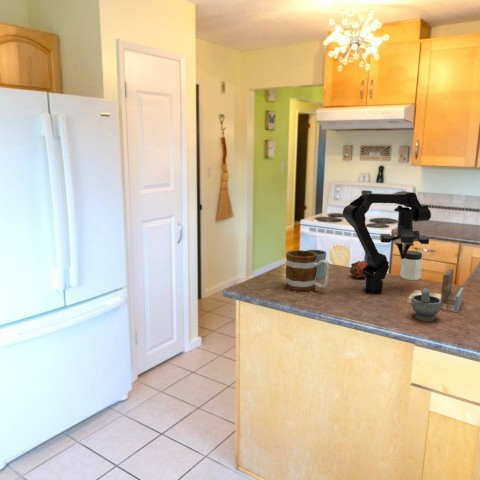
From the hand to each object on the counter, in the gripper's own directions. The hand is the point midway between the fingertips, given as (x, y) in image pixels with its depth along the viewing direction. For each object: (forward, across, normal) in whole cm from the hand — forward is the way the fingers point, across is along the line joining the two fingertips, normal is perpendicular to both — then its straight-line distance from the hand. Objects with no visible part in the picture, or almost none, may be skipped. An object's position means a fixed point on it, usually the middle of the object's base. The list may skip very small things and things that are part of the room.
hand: (402, 258), depth 181 cm
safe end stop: (+13, +17, -20) cm, 29 cm away
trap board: (+13, +10, -16) cm, 23 cm away
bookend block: (+11, +15, -18) cm, 26 cm away
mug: (+13, -39, -8) cm, 42 cm away
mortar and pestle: (+13, +2, -34) cm, 36 cm away
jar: (+13, +8, +18) cm, 24 cm away
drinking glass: (+13, -36, +11) cm, 40 cm away
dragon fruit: (+13, -15, +15) cm, 25 cm away
